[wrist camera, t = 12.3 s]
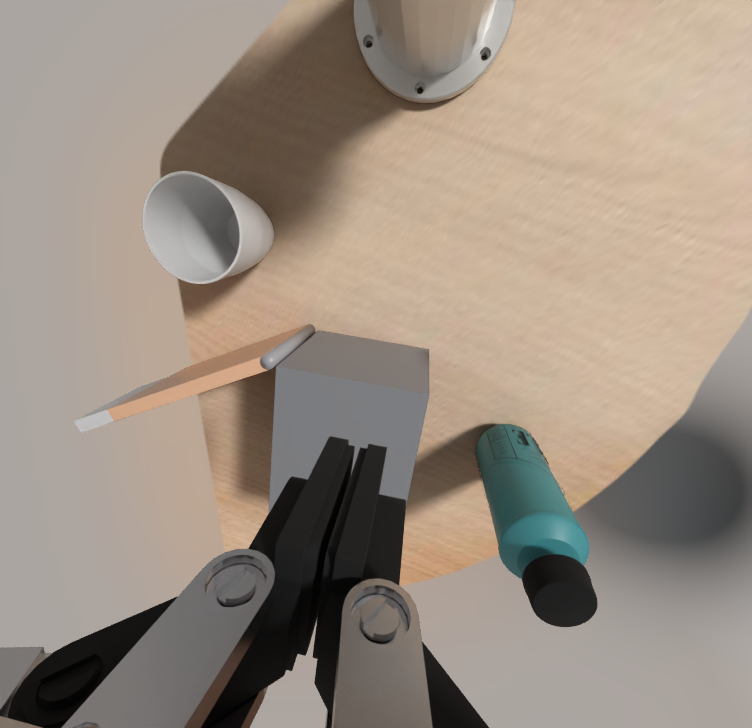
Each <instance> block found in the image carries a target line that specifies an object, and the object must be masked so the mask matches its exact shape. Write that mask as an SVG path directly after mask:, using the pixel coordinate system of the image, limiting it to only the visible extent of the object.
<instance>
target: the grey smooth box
mask: <svg viewBox="0 0 752 728" xmlns="http://www.w3.org/2000/svg"><path fill="white" fill-rule="evenodd" d="M428 398H429V349H423V348H418V347H412V346H406V345H400V344H395V343H389V342H383V341H377V340H371V339H366V338H360V337H354V336H348V335H343V334H337V333H331V332H325V331H318V332H317V333H315V334H314V335H313V336H312V337H311V338H309V339H308V340H307V341H306V342H305V343H303V344H302V345H301V346H300V347H299V348H297V349H296V350H295V351H294V352H293V353H291V354H290V355H289V356H288V357H287V358H285V359H284V360H283V361H282V362H281V363H280V364H278V365H277V366H276V378H275V397H274V416H273V436H272V455H271V475H270V494H269V512H270V511H271V509H272V507H273V506H274V504H275V502H276V500H277V499H278V497H279V495H280V494H281V492H282V490H283V488H284V487H285V485H286V483H287V481H288V480H289V479H290V477H292V476H294V477H298V478H303V479H308V478H309V476H310V474H311V472H312V470H313V468H314V466H315V464H316V462H317V460H318V458H319V456H320V454H321V452H322V450H323V448H324V446H325V444H326V442H327V440H328V438H329V437H330V436H332V437H337V438H342V439H348V440H349V445H352V446H355V450H354V458H353V465H352V471H353V468H354V465H355V462H356V459H357V456H358V453H359V449H360V447H362V448H367V447H368V444H373V445H378V446H383V447H387V451H386V457H385V463H384V469H383V474H382V480H381V486H380V491H379V494H381V495H385V496H390V497H395V498H400V499H405V500H406V504H407V499H408V495H409V490H410V485H411V480H412V475H413V470H414V466H415V461H416V456H417V451H418V446H419V442H420V437H421V432H422V427H423V422H424V417H425V413H426V408H427V403H428ZM351 474H352V472H351Z"/></svg>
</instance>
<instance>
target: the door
mask: <svg viewBox="0 0 752 728" xmlns="http://www.w3.org/2000/svg"><path fill="white" fill-rule="evenodd" d="M314 333H315V327H314V326H313V325H310V324H308V325H305V326H303V327H300V328H297V329H294V330H291V331H289V332H286V333H283V334H280V335H277V336H274V337H272V338H269V339H266V340H263V341H260V342H258V343H255V344H252V345H249V346H246V347H243V348H241V349H238V350H235V351H232V352H229V353H227V354H224V355H221V356H218V357H215V358H212V359H210V360H207V361H204V362H201V363H198V364H196V365H193V366H190V367H187V368H185V369H183V370H181V371H179V372H177V373H175V374H173V375H171V376H170V377H167V378H164V379H161V380H159V381H155V382H153V383H150V384H147V385H144V386H141V387H139V388H137V389H135V390H134V391H131V392H130V393H128V394H126V395H124V396H122V397H120V398H118V399H116V400H114V401H112V402H110V403H108V404H106V405H104V406H102V407H100V408H99V409H96V410H94V411H93V412H91V413H89V414H87V415H85V416H83V417H81V418H79V419H77V420H75V421H74V422H75V424H76V426H77V427H78V429H79V430H80V432H84V431H87V430H90V429H93V428H96V427H99V426H102V425H105V424H108V423H111V422H114V421H117V420H120V419H123V418H126V417H129V416H132V415H135V414H138V413H141V412H144V411H147V410H150V409H153V408H156V407H159V406H162V405H165V404H168V403H171V402H174V401H177V400H180V399H183V398H186V397H189V396H192V395H195V394H198V393H201V392H204V391H207V390H210V389H213V388H216V387H219V386H222V385H225V384H228V383H231V382H234V381H237V380H240V379H243V378H246V377H249V376H252V375H255V374H258V373H261V372H264V371H267V370H270V369H272V368H273V367H275V366H276V365H277V364H278V363H279V362H281V361H282V360H283V359H284V358H285V357H287V356H288V355H289V354H290V353H291V352H293V351H294V350H295V349H296V348H298V347H299V346H300V345H301V344H302V343H304V342H305V341H306V340H307V339H308V338H310V337H311V336H312V335H313V334H314Z"/></svg>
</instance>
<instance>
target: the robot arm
mask: <svg viewBox="0 0 752 728" xmlns="http://www.w3.org/2000/svg"><path fill="white" fill-rule="evenodd" d="M515 1H516V0H354V22H355V30H356V36H357V39H358V43H359V46H360V49H361V52H362V55H363V57H364V59H365V62H366V64H367V65H368V67H369V69H370V70H371V72H372V74H373V75H374V77H375V78H376V79H377V80H378V81H379V82H380V83H381V84H382V85H383V86H384V87H385V88H386V89H387V90H389V91H390V92H392V93H393V94H394V95H396V96H398V97H401V98H403V99H405V100H408V101H413V102H418V103H435V102H440V101H443V100H447V99H450V98H452V97H454V96H456V95H458V94H460V93H462V92H464V91H466V90H467V89H468V88H469V87H471V86H472V85H473V84H475V83H476V82H477V81H478V80H479V79H480V78H481V77H482V76H483V75H484V74H485V73H486V71H487V70H488V69H489V68H490V66H491V65H492V63H493V62H494V60H495V59H496V57H497V56H498V54H499V52H500V50H501V48H502V45H503V43H504V41H505V39H506V36H507V34H508V31H509V28H510V25H511V22H512V17H513V12H514V8H515ZM370 43H371V44H372V46H371V47H370V48H367V45H368V44H370ZM482 56H486V57H487V60H485V61H483V60H481V57H482ZM418 89H422V90H423V93H422V94H418V93H417V91H418ZM354 450H355V446H352V445H349V440H348V439H342V438H337V437H332V436H330V437H329V438H328V440H327V442H326V444H325V446H324V448H323V450H322V452H321V454H320V456H319V458H318V460H317V462H316V464H315V466H314V468H313V470H312V472H311V474H310V476H309V478H308V479H303V478H298V477H294V476H292V477H290V479H289V480H288V481H287V483H286V485H285V487H284V488H283V490H282V492H281V494H280V495H279V497H278V499H277V500H276V502H275V504H274V506H273V507H272V509H271V511H270V512H269V514H268V516H267V518H266V519H265V521H264V523H263V525H262V526H261V528H260V530H259V531H258V533H257V535H256V537H255V538H254V540H253V542H252V543H251V545H250V547H249V549H235V550H232V551H228V552H225V553H223V554H221V555H219V556H217V557H216V558H214V559H213V560H212V561H211V562H209V563H208V564H207V565H206V566H205V567H204V568H203V569H202V570H201V571H200V572H199V574H198V575H197V576H196V577H195V578H194V579H193V580H192V582H191V583H190V584H189V585H188V586H187V587H186V588H185V589H184V590H183V592H182V593H181V594H180V595H179V596H178V597H175V598H173V599H171V600H169V601H166V602H164V603H162V604H159V605H157V606H155V607H152V608H150V609H148V610H145V611H143V612H141V613H139V614H137V615H134V616H132V617H129V618H127V619H125V620H123V621H120V622H118V623H116V624H113V625H111V626H109V627H106V628H104V629H102V630H99V631H97V632H95V633H93V634H90V635H88V636H86V637H83V638H81V639H79V640H76V641H74V642H72V643H70V644H68V645H66V646H64V647H62V648H61V649H59V650H57V651H55V652H53V653H45V652H44V647H16V648H0V728H250V725H251V724H252V722H253V719H254V718H255V716H256V714H257V711H258V710H259V708H260V706H261V704H262V701H263V699H264V696H265V694H266V691H267V688H268V686H269V685H270V684H272V683H274V682H275V681H277V680H278V679H280V678H281V677H283V676H284V674H285V671H286V670H290V671H292V669H293V666H294V663H295V660H296V657H297V654H301V655H306V653H307V650H308V647H309V644H310V640H311V637H312V634H313V630H314V627H315V623H316V620H317V627H316V635H315V642H314V651H313V658H317V659H318V660H317V668H316V676H315V685H316V687H317V689H318V691H319V693H320V696H321V698H322V700H323V702H324V703H325V706H326V708H327V714H326V724H325V728H489V727H488V726H487V724H486V723H485V722H484V721H483V719H482V718H481V717H480V716H479V714H478V713H477V712H476V710H475V709H474V708H473V706H472V705H471V704H470V703H469V701H468V700H467V699H466V697H465V696H464V695H463V693H462V692H461V691H460V690H459V688H458V687H457V686H456V685H455V683H454V682H453V681H452V679H451V678H450V677H449V675H448V674H447V673H446V672H445V670H444V669H443V668H442V666H441V665H440V664H439V663H438V661H437V660H436V659H435V657H434V656H433V655H432V653H431V652H430V651H429V650H428V648H427V647H426V646H425V645H424V643H423V642H422V638H421V630H420V622H419V615H418V612H417V608H416V605H415V603H414V601H413V600H412V598H411V596H410V595H409V594H408V593H407V592H406V591H405V590H404V589H403V588H402V587H401V586H399V580H400V568H401V556H402V544H403V533H404V521H405V509H406V500H405V499H400V498H395V497H390V496H385V495H381V494H379V491H380V486H381V480H382V474H383V469H384V463H385V457H386V451H387V447H383V446H378V445H373V444H368V447H367V448H362V447H360V449H359V453H358V456H357V459H356V462H355V465H354V468H353V471H352V465H353V458H354ZM351 472H352V474H351ZM317 617H318V618H317Z"/></svg>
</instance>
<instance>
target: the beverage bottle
mask: <svg viewBox="0 0 752 728" xmlns="http://www.w3.org/2000/svg"><path fill="white" fill-rule="evenodd" d="M534 439H535V438H532V434H531V433H530V434H529V433H528V432H527V430H526V431H525V430H524V429H522V428H521V427H518V426H515V425H511V424H501V425H497V426H494V427H491V428H490V429H488V430H487V431H485V432H484V433H483V434H482V436H481V437H480V439H479V441H478V444H477V447H476V454H475V455H477V458H476V460H477V459H478V461H476V462H477V465H478V463H479V467H478V469H479V468H480V470H479V472H481V476H482V480H483V484H484V488H485V493H486V497H487V500H488V503H489V507H490V512H491V516H492V520H493V524H494V528H495V533H496V537H497V541H498V549H499V554H500V557H501V559H502V562H503V563H504V564H505V566H506V567H507V568H508V569H509V571H511V572H512V573H513V574H514V575H516V576H517V577H519V578H521V579H522V581H523V585H524V589H525V592H526V594H527V596H528V598H529V601H530V603H531V606H532V608H533V610H534V612H535V614H536V615H537V616H538V617H539V618H540V619H541V620H543V621H544V622H546V623H548V624H551V625H554V626H559V627H572V626H577V625H580V624H582V623H585V622H586V621H588V620H589V619H590V618H591V617H592V616H593V615H594V614H595V612H596V610H597V597H596V594H595V592H594V589H593V587H592V583H591V579H590V576H589V574H588V572H587V570H586V568H585V567H584V564H585V563H586V561H587V558H588V555H589V542H588V539H587V536H586V534H585V533H584V531H583V530H582V528H581V527H580V525H579V523H578V521H577V520H576V518H575V516H574V514H573V512H572V510H571V509H572V508H571V509H570V507H569V505H568V503H567V501H566V499H565V497H564V495H563V493H562V491H561V489H560V487H559V485H558V484H559V483H558V484H557V482H556V480H555V478H554V476H553V474H552V473H551V471H550V468H549V467H548V465H549V463H548V462H547V463H548V464H547V463H546V461H547V460H546V458H543V457H545V456H542V455H544V454H543V452H541V450H540V449H539V447H538V443H536V442H537V441H535V440H534ZM544 459H545V460H546V461H545V460H544ZM479 474H480V473H479ZM480 478H481V477H480ZM481 482H482V481H481ZM561 488H562V487H561ZM563 491H564V490H563ZM484 495H485V494H484ZM570 506H571V505H570Z"/></svg>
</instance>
